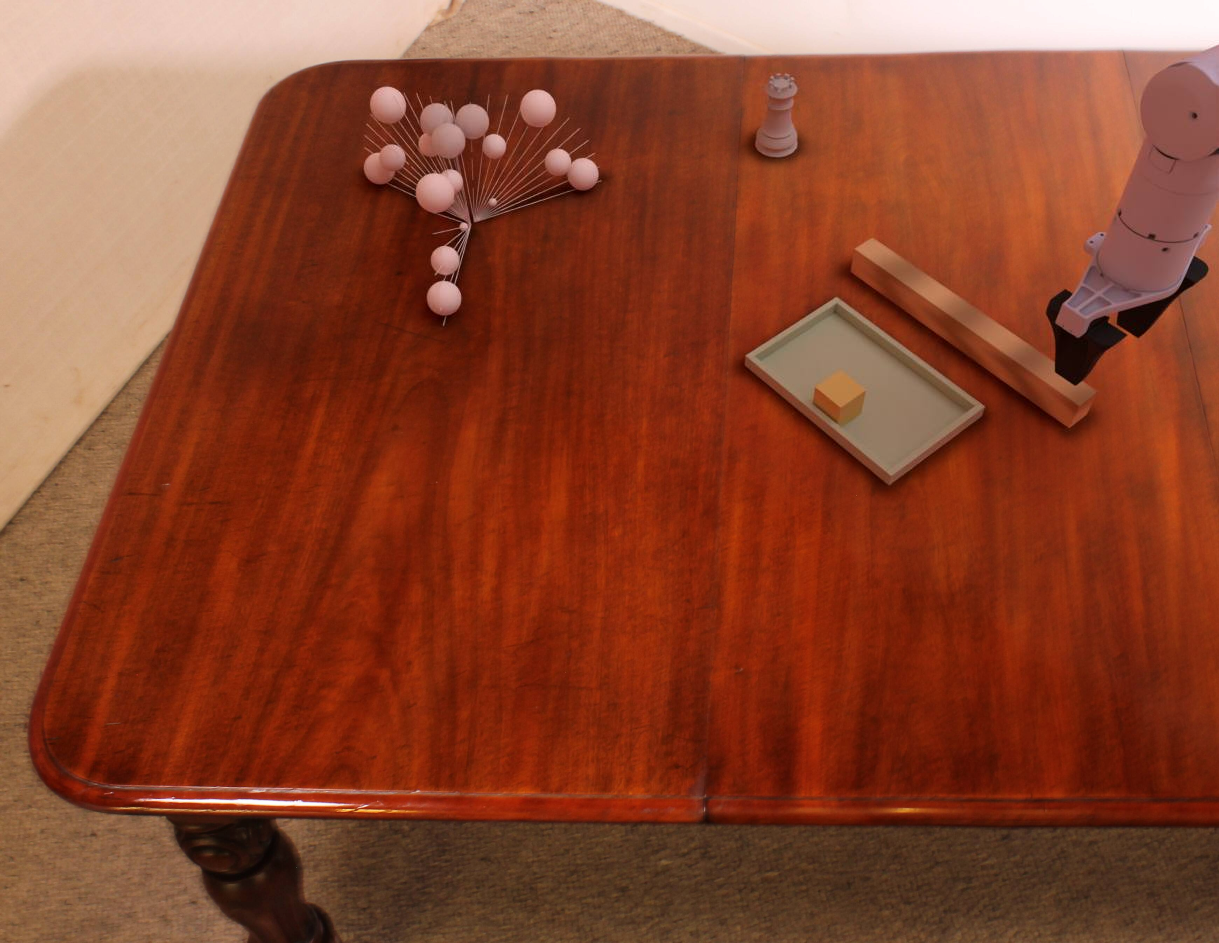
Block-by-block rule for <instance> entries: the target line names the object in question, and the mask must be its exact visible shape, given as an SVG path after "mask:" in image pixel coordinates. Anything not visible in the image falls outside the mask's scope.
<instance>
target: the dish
mask: <svg viewBox="0 0 1219 943" xmlns="http://www.w3.org/2000/svg"><path fill="white" fill-rule="evenodd" d="M744 366H745V367H746V368H747V369H748V370H749V371H751V372H752V373H753V374H754V375H756V377H758V378H759V379H761V380H762V381H763V382H764V383H765V384H766V385H767V386H768V387H770V388H771V389H772V390H774V391H775V392H776V393H777V394H778V395H780V396H781V397H782V398H783V399H784V400H786V401H787V402H788V403H789V404H791V405H792V407H794V408H795V409H796V410H798V411H799V412H800V413H801V414H802V415H804V416H805V417H806V418H807V419H809V421H811V422H812V423H813V424H814V425H815V426H817V427H818V428H819V429H820V430H822V431H823V432H824V433H825V434H826V435H828V436H829V437H830V438H831V439H832V440H834V441H835V442H836V443H837V444H838V445H840V447H842V448H843V449H844V450H845V451H847V452H848V453H849V454H851V456H853V457H854V458H855V459H856V460H858V462H860V463H861V464H863V466H865V467H866V468H867V469H869V471H871V472H872V473H873V474H874V475H875V476H877V477H878V478H879V479H881V480H882V481H883V482H884V483H885V484H886V485H887V486H890V485H892V484H893V483H894V482H896V481H897V480H899V478H901V477H902V476H904V475H905V474H906V473H907V472H909V471H910V470H912V469H913V468H915V467H916V466H917V465H918V464H920V463H921V462H922V461H924V460H925V459H927V457H929V456H931V455H932V454H933V453H934V452H936V451H937V450H939V449H940V448H941V447H943V446H944V445H945V444H947V443H948V442H949V441H951V440H953V438H954V437H956V436H958V435H959V434H960V433H961V432H963V431H964V430H965V429H966V428H968V427H969V426H971V425H972V424H974V423H975V422H976V421H977V420H979V419H980V418H981V417H982V416H983V414H984V411H985V408H986V406H985V405H983V404H982V403H981V402H979V401H978V400H977V399H976V398H975V397H973V396H971V395H970V394H969V393H967V392H966V391H965V390H964V389H962V388H961V387H959V386H958V385H957V384H955V383H954V382H953V381H951V380H950V379H948V378H947V377H946V376H945V375H943V374H942V373H941V372H939V371H938V370H937V369H935V368H934V367H932V366H931V365H930V364H929V363H927V362H926V361H924V360H923V359H922V358H920V357H919V356H917V354H915V353H914V352H912V351H911V350H910V349H908V348H907V347H905V346H904V345H903V344H901V343H900V342H898V341H897V340H896V339H895V338H893V337H892V336H891V335H889V334H888V333H887V332H886V331H884V330H882V329H881V328H880V327H878V326H877V325H876V324H874V323H873V322H871V320H869V319H867V318H866V317H865V316H864V315H862V314H860V313H859V312H858V311H857V310H856V309H854V307H851V306H850V305H849V304H847V303H846V302H845V301H843V300H842V299H841V298H839V297H838V296H835V297H834V298H832V299H831V300H828V302H826V303H824V304H823V305H821V306H819V307H818V308H816V309H815V310H814V311H812V312H810V313H809V314H808V315H806V316H805V317H803V318H801V319H800V320H797V322H795V323H794V324H791V326H789V327H788V328H786V329H785V330H783V331H782V332H780V333H778V334H777V335H775V336H774V337H772V338H770V339H769V340H767V341H766V342H764V343H763V344H761V345H759V346H758V347H756V348H754V349H753V350H752V351H750V352H749V353H747V354H745V357H744ZM839 370H842V371H843V372H844V373H845V374H847V375H848V376H849V377H851V378H852V379H853V380H854V381H856V382H857V383H858V384H859V385H861V386H862V387H863V388H865V389H866V394H865V398H864V403H863V408H862V412H861V413H860V414H859V415H858V416H856V417H855V418H853V419H852V420H850V421H849V422H848V423H846V424H845V425H843V426H842V427H840V426H839V425H838V424H837V423H835V422H834V421H833V420H832V419H831V418H829V417H828V416H827V415H826V414H824V413H823V412H822V411H821V410H820V409H818V408H817V407H816V406H815V405H813V404H812V403H813V397H814V390H815V387H816V386H817V385H819V384H820V383H821V382H823V381H824V380H826V379H827V378H829V377H830V376H832V375H833V374H835V373H836V372H838V371H839Z"/></svg>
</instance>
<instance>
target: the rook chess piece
mask: <svg viewBox="0 0 1219 943" xmlns="http://www.w3.org/2000/svg"><path fill="white" fill-rule="evenodd" d="M768 79H769V80H768V83H766V84H765V86H764V91H765V94H766V95H767V96H768V97H767V98H766V100H765V104H766V106H767V110H766V115H765V119H764V121H763V122H762V123H761V126H760V127H759V128H758V129H757V131H756V135H755V138H756V139H755V143H754V146H755V148H756V150H757V151H758V152H759V153H760V154H762V155H763V156H766V157H768V158H776V159H779V158H786V157H788V156H789V155H791V154H792V153H794V152H795V150H796V149H797V148H798V132H797V130H796V128H795V125H794V123H793V121H792V107H793V105H795V104H794V99H793V97H794V96H795V95H796V94H797V92H798V86H797V85H796V83H795V78H794V76H792V77H790V74H788V73H784V76H783V77H782V74H781V73H780V72H779V73H775V76H773V75H771V76H770V77H769V78H768Z"/></svg>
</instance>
